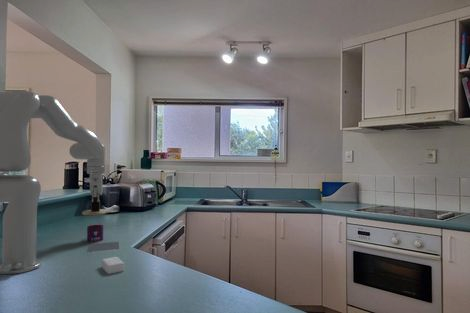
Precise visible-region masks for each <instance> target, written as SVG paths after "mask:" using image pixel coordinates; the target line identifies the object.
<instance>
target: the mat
mask: <svg viewBox="0 0 470 313" xmlns="http://www.w3.org/2000/svg"><path fill="white" fill-rule="evenodd" d="M119 249H120V244H119V241H111V242H98V243H97V242H95V243H89V244H88V247H87V249H86V251H87V252H89V253H90V252H97V251H98V252H99V251H100V252H101V251H109V250H111V251H112V250H119Z"/></svg>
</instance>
